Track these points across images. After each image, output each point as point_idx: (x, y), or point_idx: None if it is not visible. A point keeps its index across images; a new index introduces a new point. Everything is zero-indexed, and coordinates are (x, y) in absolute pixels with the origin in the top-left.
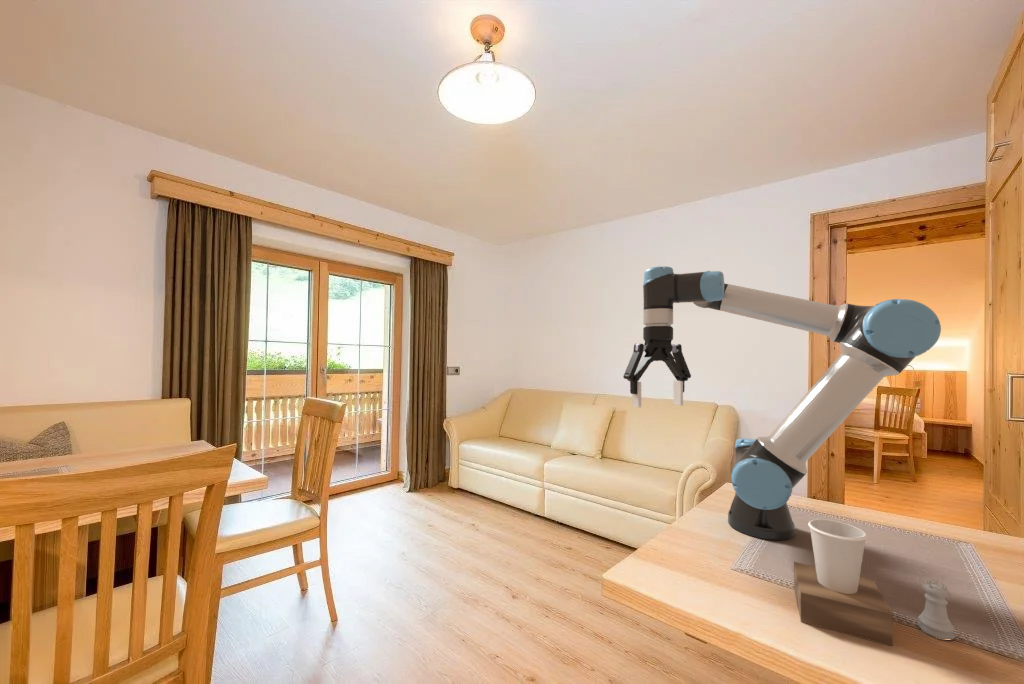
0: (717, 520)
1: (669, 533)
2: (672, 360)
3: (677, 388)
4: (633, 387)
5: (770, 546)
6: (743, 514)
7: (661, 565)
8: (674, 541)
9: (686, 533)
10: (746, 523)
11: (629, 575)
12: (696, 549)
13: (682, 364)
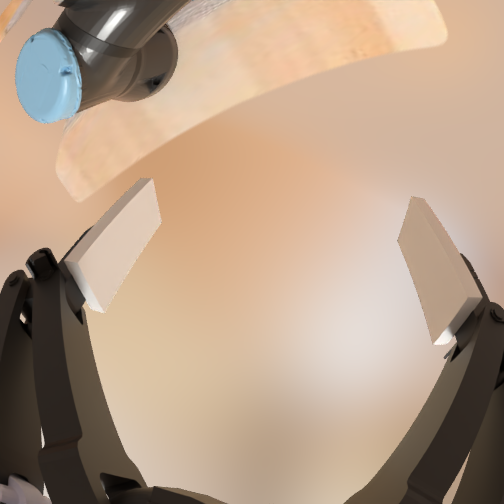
0: (176, 94)
1: (291, 78)
2: (62, 450)
3: (114, 252)
4: (479, 283)
5: None
6: (161, 48)
7: (378, 20)
8: (305, 55)
9: (264, 68)
10: (167, 41)
11: (430, 31)
12: (292, 25)
13: (2, 363)
